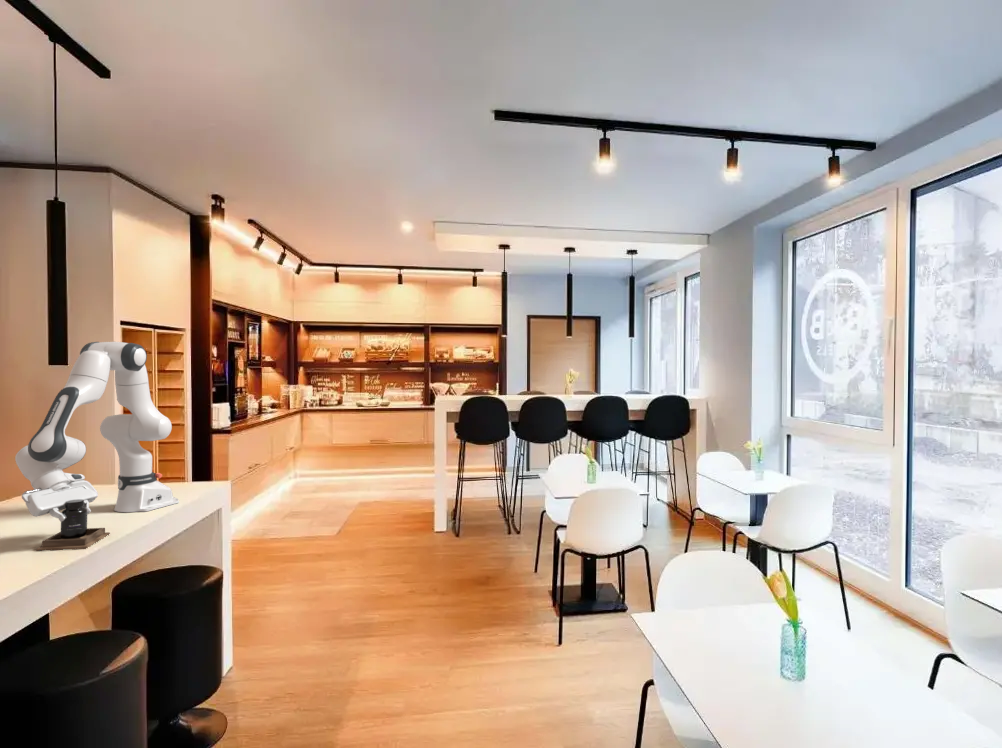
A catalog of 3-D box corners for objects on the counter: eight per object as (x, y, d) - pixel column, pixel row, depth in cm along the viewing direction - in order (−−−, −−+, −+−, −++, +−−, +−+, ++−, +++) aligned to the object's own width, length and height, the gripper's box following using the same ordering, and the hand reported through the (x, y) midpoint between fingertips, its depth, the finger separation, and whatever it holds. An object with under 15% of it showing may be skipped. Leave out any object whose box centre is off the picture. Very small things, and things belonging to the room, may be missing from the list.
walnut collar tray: (63, 536, 176) (63, 528, 176) (109, 534, 179) (109, 526, 179) (36, 551, 162) (36, 542, 162) (86, 548, 165) (86, 540, 165)
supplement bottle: (71, 540, 166) (71, 504, 166) (55, 538, 168) (55, 502, 168) (92, 534, 173) (92, 499, 173) (76, 532, 174) (76, 497, 174)
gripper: (24, 486, 161) (49, 519, 160) (87, 473, 181) (110, 502, 180) (13, 499, 162) (37, 532, 161) (77, 485, 182) (99, 514, 181)
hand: (76, 516), depth 170 cm, fingers closed on supplement bottle, 6 cm apart
